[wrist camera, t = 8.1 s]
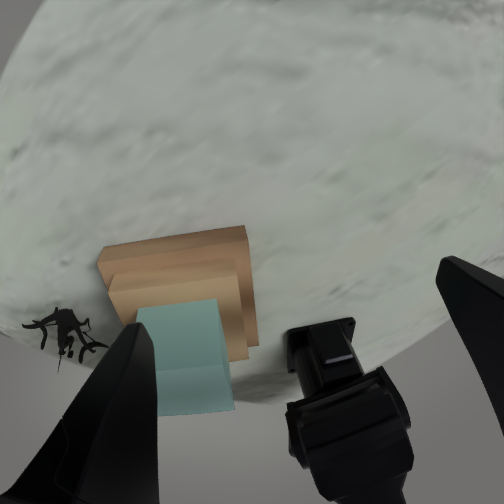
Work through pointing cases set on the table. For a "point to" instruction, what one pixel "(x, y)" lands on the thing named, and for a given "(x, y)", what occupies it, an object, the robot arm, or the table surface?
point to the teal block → (189, 357)
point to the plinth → (188, 253)
